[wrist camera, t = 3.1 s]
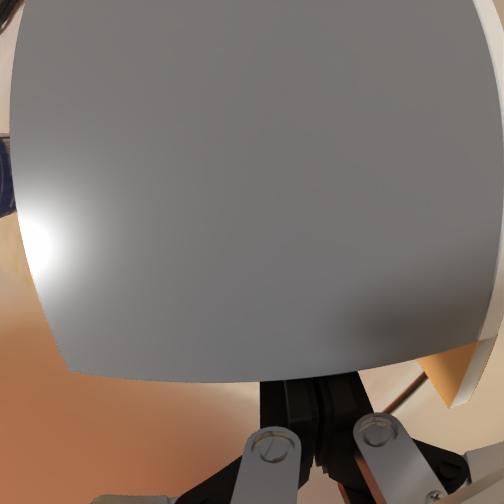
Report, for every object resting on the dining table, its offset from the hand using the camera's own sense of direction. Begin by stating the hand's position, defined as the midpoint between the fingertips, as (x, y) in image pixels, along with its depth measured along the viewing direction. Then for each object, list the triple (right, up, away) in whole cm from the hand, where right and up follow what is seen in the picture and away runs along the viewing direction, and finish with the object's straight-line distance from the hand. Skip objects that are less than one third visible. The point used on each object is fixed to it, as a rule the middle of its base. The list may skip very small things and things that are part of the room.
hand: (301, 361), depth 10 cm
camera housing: (-2, +10, +3) cm, 11 cm away
